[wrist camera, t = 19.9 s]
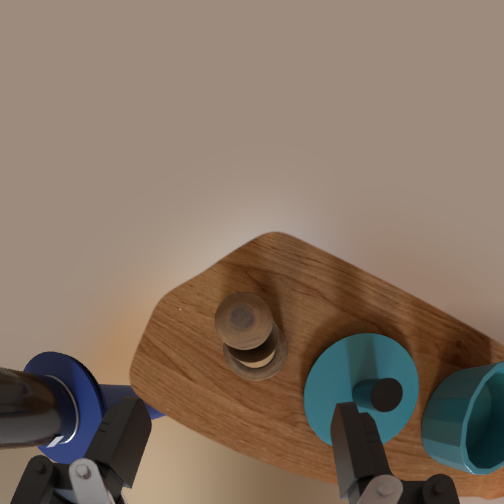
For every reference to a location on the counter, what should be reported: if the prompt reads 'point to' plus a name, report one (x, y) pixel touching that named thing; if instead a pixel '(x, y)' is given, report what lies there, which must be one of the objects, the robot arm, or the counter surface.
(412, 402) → the lid
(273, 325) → the mortar and pestle
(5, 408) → the robot arm
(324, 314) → the counter surface
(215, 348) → the counter surface
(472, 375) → the pot
